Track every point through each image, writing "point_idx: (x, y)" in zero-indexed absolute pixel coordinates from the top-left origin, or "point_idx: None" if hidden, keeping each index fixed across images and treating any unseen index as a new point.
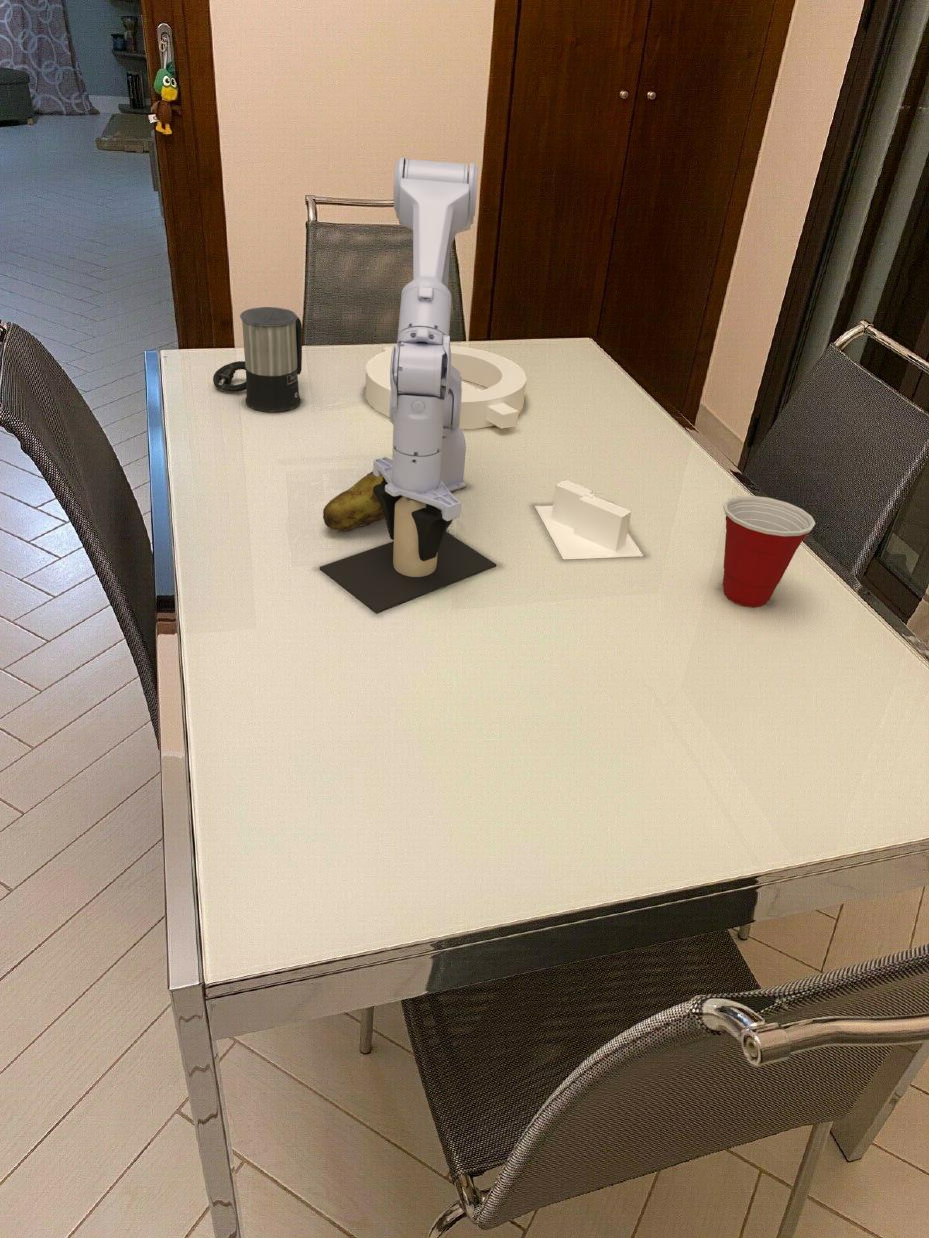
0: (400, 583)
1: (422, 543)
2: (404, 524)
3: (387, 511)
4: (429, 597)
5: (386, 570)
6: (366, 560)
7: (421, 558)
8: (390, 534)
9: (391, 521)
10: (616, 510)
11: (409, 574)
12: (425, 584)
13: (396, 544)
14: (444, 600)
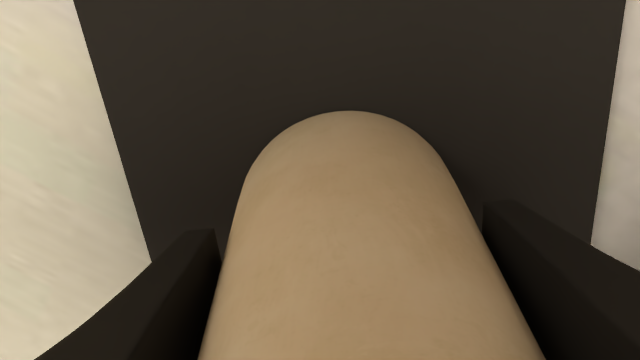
0: (236, 67)
1: (111, 303)
2: (291, 323)
3: (605, 311)
4: (87, 133)
5: (383, 67)
6: (533, 23)
7: (188, 234)
8: (512, 211)
9: (544, 275)
10: None
11: (269, 143)
12: (177, 169)
13: (369, 179)
14: (42, 178)
